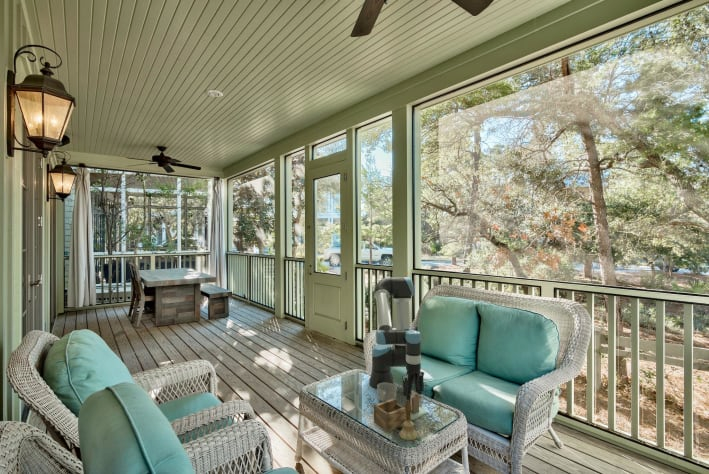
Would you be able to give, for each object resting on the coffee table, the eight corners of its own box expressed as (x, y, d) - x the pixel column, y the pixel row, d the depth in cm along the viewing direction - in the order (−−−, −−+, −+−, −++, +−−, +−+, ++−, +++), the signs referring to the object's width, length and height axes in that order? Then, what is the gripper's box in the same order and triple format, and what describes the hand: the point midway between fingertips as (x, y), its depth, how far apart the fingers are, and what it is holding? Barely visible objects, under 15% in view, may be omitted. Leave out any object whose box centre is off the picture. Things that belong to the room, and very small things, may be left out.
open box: (395, 412, 175) (395, 397, 175) (410, 422, 166) (410, 406, 166) (373, 421, 167) (373, 405, 167) (388, 431, 158) (388, 415, 158)
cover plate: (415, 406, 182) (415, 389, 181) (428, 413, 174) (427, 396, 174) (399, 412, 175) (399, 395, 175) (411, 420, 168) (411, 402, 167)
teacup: (381, 394, 195) (381, 380, 195) (399, 398, 190) (399, 384, 190) (371, 405, 183) (371, 390, 183) (390, 410, 178) (390, 394, 178)
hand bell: (411, 442, 150) (411, 406, 150) (395, 435, 155) (395, 400, 155) (421, 434, 156) (421, 399, 156) (405, 427, 162) (405, 394, 161)
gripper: (420, 356, 182) (420, 399, 183) (395, 363, 172) (395, 409, 173) (430, 360, 176) (430, 405, 176) (405, 368, 166) (405, 415, 167)
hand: (413, 407), depth 175 cm, fingers open, 4 cm apart
